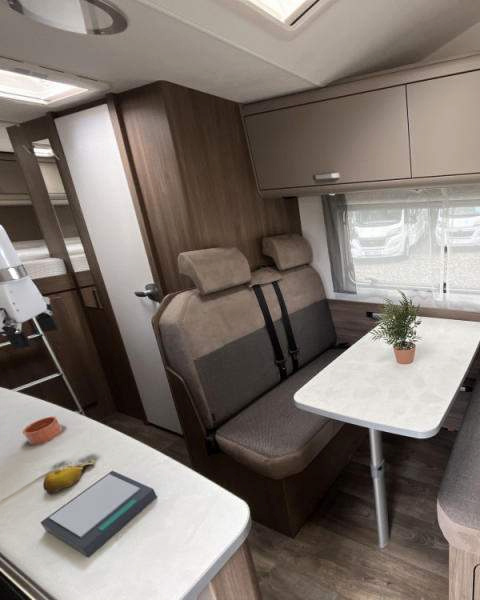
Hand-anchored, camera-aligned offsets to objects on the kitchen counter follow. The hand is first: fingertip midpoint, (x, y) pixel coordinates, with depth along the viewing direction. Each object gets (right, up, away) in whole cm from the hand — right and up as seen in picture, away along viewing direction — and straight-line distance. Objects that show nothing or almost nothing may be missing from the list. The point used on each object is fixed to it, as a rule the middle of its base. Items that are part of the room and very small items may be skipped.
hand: (37, 338), depth 81 cm
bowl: (0, -27, +2) cm, 27 cm away
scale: (+34, -33, -18) cm, 51 cm away
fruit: (+18, -31, -9) cm, 37 cm away
